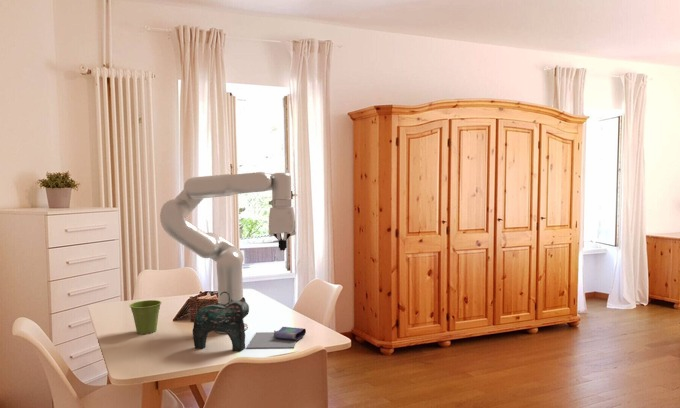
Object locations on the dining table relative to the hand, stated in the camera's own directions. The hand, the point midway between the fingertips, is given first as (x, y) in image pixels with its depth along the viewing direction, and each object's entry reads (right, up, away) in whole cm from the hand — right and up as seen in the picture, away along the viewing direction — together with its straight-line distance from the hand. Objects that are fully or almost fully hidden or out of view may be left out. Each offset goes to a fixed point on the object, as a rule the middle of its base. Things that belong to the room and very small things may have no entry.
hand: (282, 250), depth 199 cm
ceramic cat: (-19, -32, -25) cm, 45 cm away
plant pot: (-53, -32, -3) cm, 62 cm away
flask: (+9, -29, -16) cm, 35 cm away
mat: (-1, -31, -17) cm, 36 cm away
